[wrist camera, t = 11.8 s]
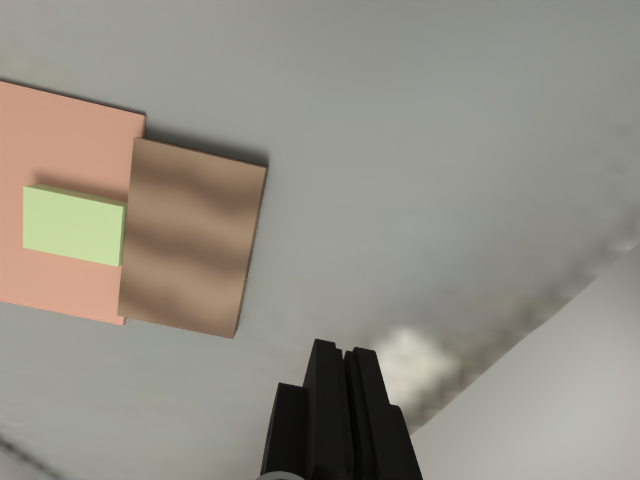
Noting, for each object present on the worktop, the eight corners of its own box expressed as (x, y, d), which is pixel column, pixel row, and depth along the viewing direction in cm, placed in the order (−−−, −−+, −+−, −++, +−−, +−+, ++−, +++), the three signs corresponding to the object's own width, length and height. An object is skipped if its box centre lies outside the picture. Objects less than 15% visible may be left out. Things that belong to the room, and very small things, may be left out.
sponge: (39, 183, 35) (23, 186, 33) (133, 203, 35) (122, 206, 33) (38, 242, 36) (22, 247, 34) (128, 260, 37) (118, 266, 35)
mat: (-31, 73, 33) (-37, 72, 32) (146, 116, 34) (143, 115, 33) (-27, 292, 38) (-32, 294, 38) (125, 323, 39) (122, 325, 39)
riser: (144, 137, 34) (133, 137, 32) (268, 166, 35) (265, 168, 33) (127, 306, 39) (116, 315, 37) (237, 329, 39) (233, 339, 38)
